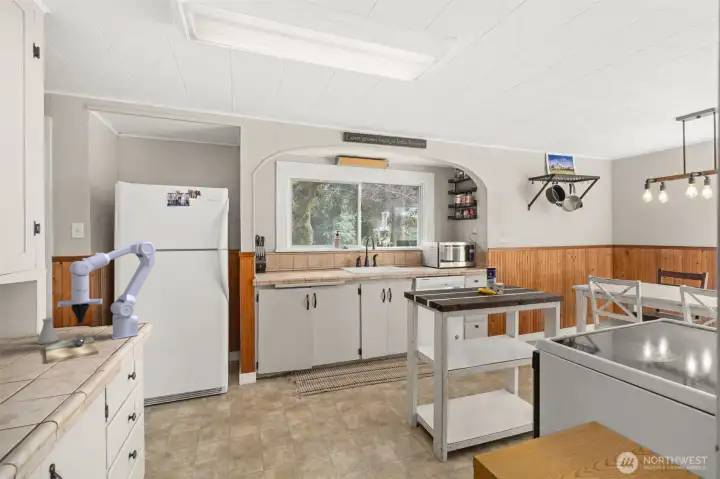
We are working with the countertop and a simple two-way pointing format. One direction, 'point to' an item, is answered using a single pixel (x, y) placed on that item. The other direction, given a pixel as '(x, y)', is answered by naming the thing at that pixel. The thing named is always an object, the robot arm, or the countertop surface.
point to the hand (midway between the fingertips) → (80, 322)
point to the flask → (47, 332)
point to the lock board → (70, 349)
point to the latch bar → (79, 340)
